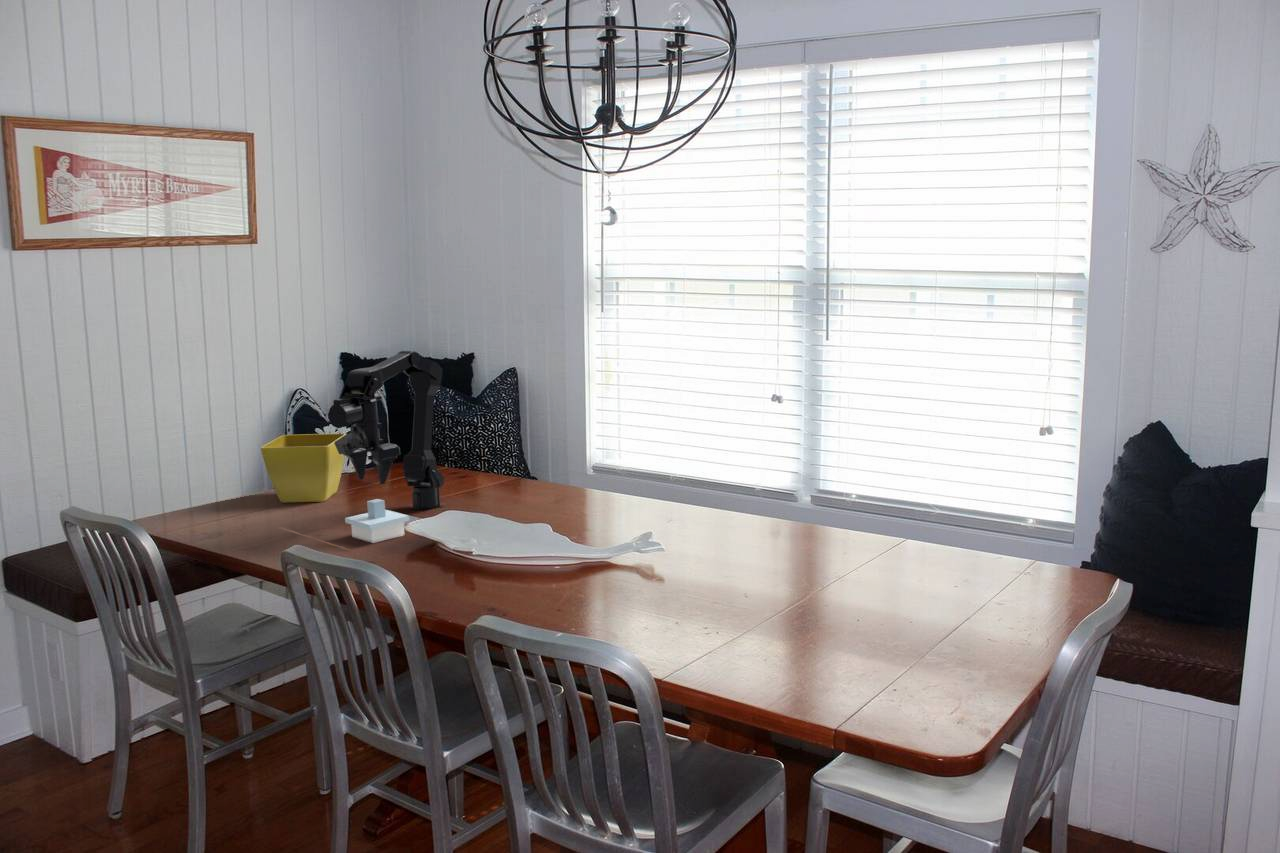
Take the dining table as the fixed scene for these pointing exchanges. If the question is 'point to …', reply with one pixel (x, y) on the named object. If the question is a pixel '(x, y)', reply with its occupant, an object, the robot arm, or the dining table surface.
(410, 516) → the mat
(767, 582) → the dining table surface
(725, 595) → the dining table surface
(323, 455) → the flower pot
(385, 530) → the white open box
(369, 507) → the lid
